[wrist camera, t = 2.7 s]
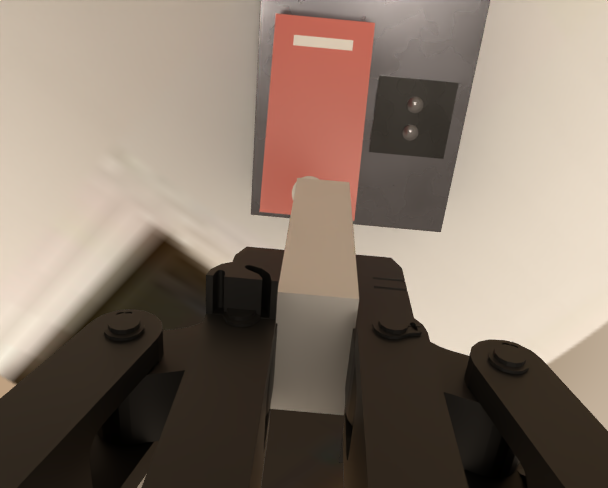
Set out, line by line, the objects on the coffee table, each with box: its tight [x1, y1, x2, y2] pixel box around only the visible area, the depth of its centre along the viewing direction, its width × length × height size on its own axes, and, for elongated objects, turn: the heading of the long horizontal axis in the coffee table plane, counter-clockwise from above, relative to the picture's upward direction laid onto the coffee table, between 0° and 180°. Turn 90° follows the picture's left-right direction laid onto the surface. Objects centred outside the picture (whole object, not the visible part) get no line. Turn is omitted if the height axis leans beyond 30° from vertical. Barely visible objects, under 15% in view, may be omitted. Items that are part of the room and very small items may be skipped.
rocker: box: [259, 14, 375, 221], centre depth 30 cm, size 10×5×2 cm, turn 176°
